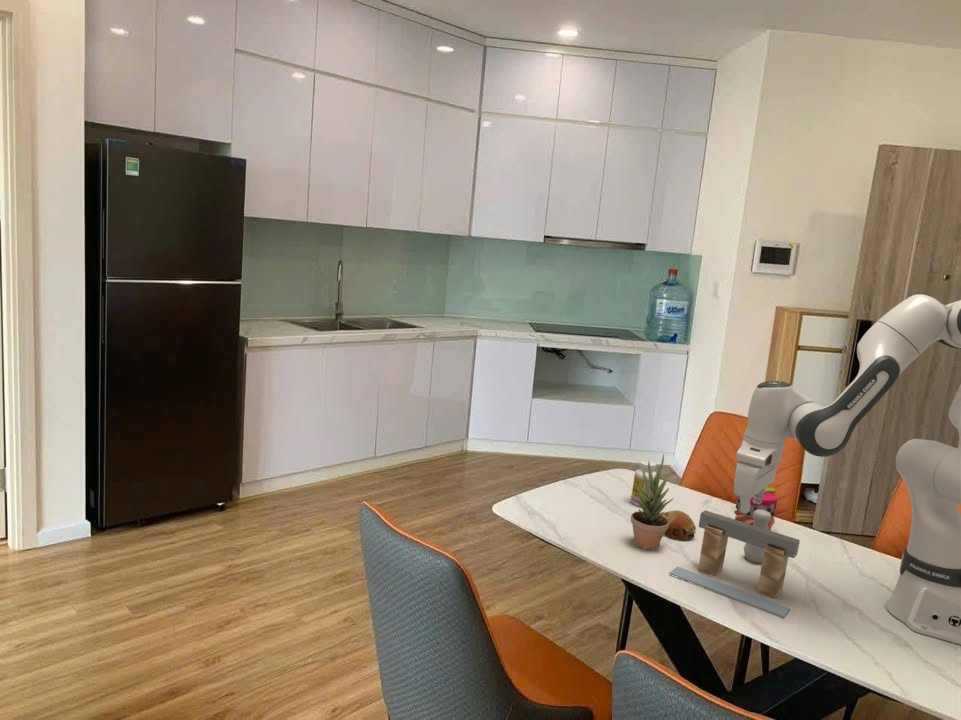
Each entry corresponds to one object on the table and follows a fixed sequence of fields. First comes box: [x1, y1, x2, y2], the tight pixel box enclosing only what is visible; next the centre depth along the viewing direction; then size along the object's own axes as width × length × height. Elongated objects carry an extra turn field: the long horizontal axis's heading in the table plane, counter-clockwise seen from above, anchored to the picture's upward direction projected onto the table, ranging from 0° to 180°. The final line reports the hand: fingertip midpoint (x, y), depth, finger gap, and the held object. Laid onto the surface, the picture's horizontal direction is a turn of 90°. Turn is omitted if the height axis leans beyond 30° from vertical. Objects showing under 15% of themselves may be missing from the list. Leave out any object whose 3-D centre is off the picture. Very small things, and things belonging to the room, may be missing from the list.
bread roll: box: [662, 509, 697, 541], centre depth 195 cm, size 10×10×8 cm
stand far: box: [697, 526, 729, 577], centre depth 174 cm, size 4×6×11 cm, turn 143°
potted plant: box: [630, 453, 674, 550], centre depth 183 cm, size 10×10×25 cm
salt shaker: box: [743, 510, 771, 565], centre depth 182 cm, size 6×6×13 cm
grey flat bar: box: [668, 566, 791, 619], centre depth 164 cm, size 26×5×1 cm, turn 53°
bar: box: [698, 509, 801, 559], centre depth 169 cm, size 22×3×4 cm, turn 53°
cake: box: [733, 485, 778, 531], centre depth 203 cm, size 10×11×15 cm
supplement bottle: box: [630, 460, 657, 508], centre depth 214 cm, size 7×7×13 cm
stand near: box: [756, 545, 789, 599], centre depth 166 cm, size 4×6×11 cm, turn 143°
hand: (750, 507), depth 168 cm, fingers open, 8 cm apart
